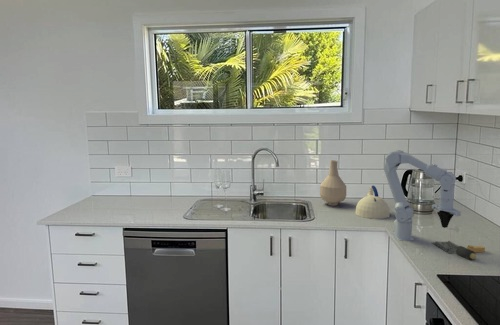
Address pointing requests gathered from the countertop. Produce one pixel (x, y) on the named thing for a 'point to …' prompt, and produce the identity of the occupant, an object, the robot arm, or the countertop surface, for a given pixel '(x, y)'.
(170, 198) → the countertop surface
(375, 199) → the kettle
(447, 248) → the board
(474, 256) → the dark grey cylinder
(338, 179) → the vase
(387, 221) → the countertop surface
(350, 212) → the countertop surface
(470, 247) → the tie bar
